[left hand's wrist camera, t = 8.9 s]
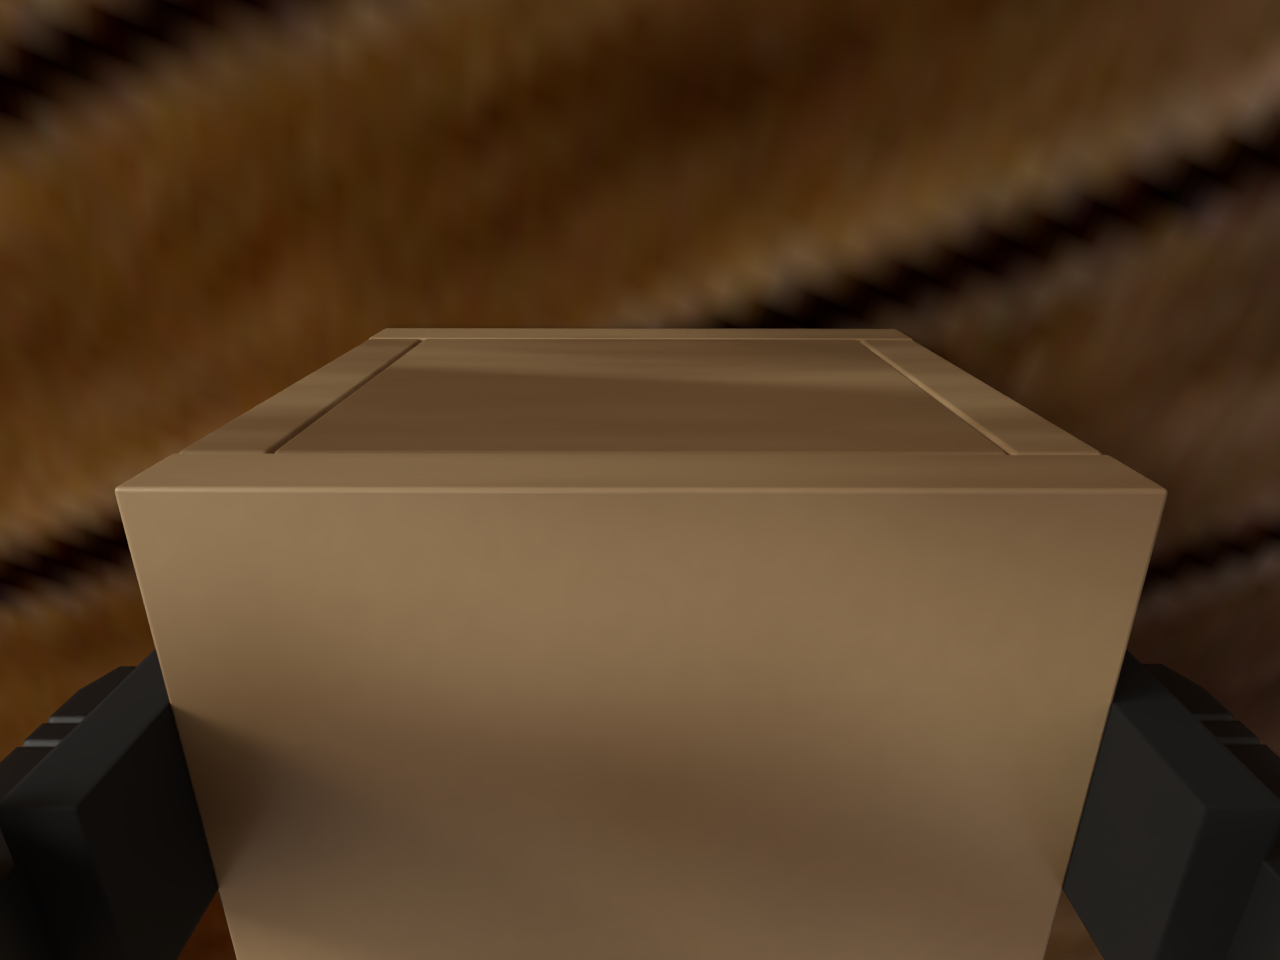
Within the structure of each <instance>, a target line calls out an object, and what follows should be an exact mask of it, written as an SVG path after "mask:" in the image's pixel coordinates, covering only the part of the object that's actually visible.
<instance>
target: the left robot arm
mask: <svg viewBox="0 0 1280 960" xmlns="http://www.w3.org/2000/svg"><path fill="white" fill-rule="evenodd" d="M1258 740H1259V738H1257V737H1256V736H1255V735H1254V734H1253V733H1252V732H1251V731H1250V730H1249V729H1248V728H1246V727H1245V726H1244V725H1243V724H1242V723H1241V722H1240V721H1234V719H1233V715H1232V714H1231V713H1230V712H1229V711H1228V710H1227V709H1226V708H1225V707H1223V706H1222V705H1221V704H1220V703H1219V702H1218V701H1217V700H1216V699H1215V698H1214V697H1213V696H1211V695H1210V694H1209V693H1208V692H1207V691H1206V690H1205V689H1204V688H1203V687H1201V686H1199V685H1197V684H1196V683H1194V682H1192V681H1190V680H1189V679H1187V678H1185V677H1183V676H1182V675H1180V674H1178V673H1176V672H1175V671H1173V670H1171V669H1169V668H1168V667H1166V666H1164V665H1162V664H1141V663H1140V662H1139V661H1138V660H1137V659H1136V658H1135V657H1134V656H1133V655H1132V654H1131V653H1130V652H1129V651H1128V650H1126V652H1125V656H1124V660H1123V663H1122V667H1121V671H1120V675H1119V678H1118V682H1117V686H1116V690H1115V693H1114V697H1113V701H1112V705H1111V708H1110V712H1109V716H1108V720H1107V723H1106V727H1105V731H1104V735H1103V738H1102V742H1101V746H1100V750H1099V753H1098V757H1097V761H1096V765H1095V768H1094V772H1093V776H1092V780H1091V783H1090V787H1089V791H1088V795H1087V799H1086V802H1085V806H1084V810H1083V814H1082V817H1081V821H1080V825H1079V829H1078V832H1077V836H1076V840H1075V844H1074V847H1073V851H1072V855H1071V859H1070V862H1069V866H1068V870H1067V874H1066V877H1065V881H1064V885H1063V890H1064V892H1065V894H1066V895H1067V897H1068V899H1069V900H1070V902H1071V904H1072V906H1073V907H1074V909H1075V911H1076V912H1077V914H1078V916H1079V917H1080V919H1081V921H1082V923H1083V924H1084V926H1085V928H1086V929H1087V931H1088V933H1089V934H1090V936H1091V938H1092V939H1093V941H1094V943H1095V945H1096V946H1097V948H1098V950H1099V951H1100V953H1101V955H1102V956H1103V958H1104V960H1280V758H1279V757H1278V756H1277V755H1276V754H1275V753H1274V752H1273V751H1272V750H1271V749H1269V748H1268V747H1267V746H1266V745H1260V744H1259V741H1258ZM217 890H218V885H217V881H216V877H215V873H214V869H213V865H212V862H211V858H210V854H209V850H208V846H207V842H206V839H205V835H204V831H203V827H202V823H201V820H200V816H199V812H198V808H197V804H196V800H195V797H194V793H193V789H192V785H191V781H190V777H189V774H188V770H187V766H186V762H185V758H184V755H183V751H182V747H181V743H180V739H179V735H178V732H177V728H176V724H175V720H174V716H173V712H172V709H171V705H170V701H169V697H168V693H167V690H166V686H165V682H164V678H163V674H162V670H161V667H160V663H159V659H158V655H157V651H156V648H155V649H154V650H153V651H152V652H151V653H150V654H149V655H148V656H147V657H146V658H145V659H144V660H143V661H142V662H141V663H140V664H139V665H138V666H137V667H118V668H117V669H115V670H113V671H111V672H110V673H108V674H106V675H105V676H103V677H101V678H99V679H98V680H96V681H94V682H92V683H91V684H89V685H87V686H85V687H84V688H82V689H80V690H79V691H78V692H77V693H75V694H74V695H73V696H72V697H71V698H70V699H69V700H68V701H67V702H66V703H65V704H64V705H62V706H61V707H60V708H59V709H58V710H57V711H56V712H55V713H54V714H53V715H52V716H50V717H49V722H48V723H43V724H42V725H41V726H40V727H39V728H37V729H36V730H35V731H34V732H33V733H32V734H31V735H30V736H29V737H28V738H27V739H25V740H24V744H23V747H17V748H16V749H15V750H14V751H12V752H11V753H10V754H9V755H8V756H7V757H6V758H5V759H4V760H3V761H2V762H0V960H177V958H178V956H179V955H180V953H181V951H182V949H183V948H184V946H185V944H186V943H187V941H188V939H189V938H190V936H191V934H192V932H193V931H194V929H195V927H196V926H197V924H198V922H199V921H200V919H201V917H202V916H203V914H204V912H205V910H206V909H207V907H208V905H209V904H210V902H211V900H212V899H213V897H214V895H215V893H216V892H217Z"/></svg>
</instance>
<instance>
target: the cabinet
mask: <svg viewBox="0 0 1280 960" xmlns="http://www.w3.org/2000/svg"><path fill="white" fill-rule="evenodd" d="M115 495H116V498H117V502H118V506H119V510H120V514H121V517H122V521H123V525H124V529H125V533H126V537H127V540H128V544H129V548H130V552H131V556H132V560H133V563H134V567H135V571H136V575H137V579H138V582H139V586H140V590H141V594H142V598H143V602H144V605H145V609H146V613H147V617H148V621H149V625H150V628H151V632H152V636H153V640H154V644H155V647H156V651H157V655H158V659H159V663H160V667H161V670H162V674H163V678H164V682H165V686H166V690H167V693H168V697H169V701H170V705H171V709H172V712H173V716H174V720H175V724H176V728H177V732H178V735H179V739H180V743H181V747H182V751H183V755H184V758H185V762H186V766H187V770H188V774H189V777H190V781H191V785H192V789H193V793H194V797H195V800H196V804H197V808H198V812H199V816H200V820H201V823H202V827H203V831H204V835H205V839H206V842H207V846H208V850H209V854H210V858H211V862H212V865H213V869H214V873H215V877H216V881H217V885H218V888H219V892H220V896H221V900H222V904H223V907H224V911H225V915H226V919H227V923H228V927H229V930H230V934H231V938H232V942H233V946H234V949H235V953H236V957H237V960H1044V956H1045V952H1046V949H1047V945H1048V941H1049V937H1050V934H1051V930H1052V926H1053V922H1054V919H1055V915H1056V911H1057V907H1058V904H1059V900H1060V896H1061V892H1062V889H1063V885H1064V881H1065V877H1066V874H1067V870H1068V866H1069V862H1070V859H1071V855H1072V851H1073V847H1074V844H1075V840H1076V836H1077V832H1078V829H1079V825H1080V821H1081V817H1082V814H1083V810H1084V806H1085V802H1086V799H1087V795H1088V791H1089V787H1090V783H1091V780H1092V776H1093V772H1094V768H1095V765H1096V761H1097V757H1098V753H1099V750H1100V746H1101V742H1102V738H1103V735H1104V731H1105V727H1106V723H1107V720H1108V716H1109V712H1110V708H1111V705H1112V701H1113V697H1114V693H1115V690H1116V686H1117V682H1118V678H1119V675H1120V671H1121V667H1122V663H1123V660H1124V656H1125V652H1126V648H1127V645H1128V641H1129V637H1130V633H1131V630H1132V626H1133V622H1134V618H1135V615H1136V611H1137V607H1138V603H1139V600H1140V596H1141V592H1142V588H1143V585H1144V581H1145V577H1146V573H1147V570H1148V566H1149V562H1150V558H1151V555H1152V551H1153V547H1154V543H1155V539H1156V536H1157V532H1158V528H1159V524H1160V521H1161V517H1162V513H1163V509H1164V506H1165V502H1166V498H1167V490H1166V489H1165V488H1164V487H1162V486H1160V485H1158V484H1157V483H1155V482H1153V481H1152V480H1150V479H1148V478H1147V477H1145V476H1143V475H1142V474H1140V473H1138V472H1136V471H1135V470H1133V469H1131V468H1130V467H1128V466H1126V465H1125V464H1123V463H1121V462H1120V461H1118V460H1116V459H1114V458H1113V457H1111V456H1109V455H1103V453H1101V452H1100V451H1098V450H1096V449H1095V448H1093V447H1091V446H1090V445H1088V444H1086V443H1085V442H1083V441H1081V440H1080V439H1078V438H1076V437H1075V436H1073V435H1071V434H1070V433H1068V432H1066V431H1064V430H1063V429H1061V428H1059V427H1058V426H1056V425H1054V424H1053V423H1051V422H1049V421H1048V420H1046V419H1044V418H1043V417H1041V416H1039V415H1038V414H1036V413H1034V412H1033V411H1031V410H1029V409H1027V408H1026V407H1024V406H1022V405H1021V404H1019V403H1017V402H1016V401H1014V400H1012V399H1011V398H1009V397H1007V396H1006V395H1004V394H1002V393H1001V392H999V391H997V390H996V389H994V388H992V387H990V386H989V385H987V384H985V383H984V382H982V381H980V380H979V379H977V378H975V377H974V376H972V375H970V374H969V373H967V372H965V371H964V370H962V369H960V368H959V367H957V366H955V365H954V364H952V363H950V362H948V361H947V360H945V359H943V358H942V357H940V356H938V355H937V354H935V353H933V352H932V351H930V350H928V349H927V348H925V347H923V346H922V345H920V344H918V343H917V342H915V341H913V339H912V338H910V337H908V336H906V335H905V334H903V333H901V332H900V331H898V330H896V329H570V328H386V329H384V330H382V331H381V332H379V333H377V334H376V335H374V336H372V337H371V338H369V340H367V341H366V342H364V343H362V344H361V345H359V346H357V347H355V348H354V349H352V350H350V351H349V352H347V353H345V354H344V355H342V356H340V357H339V358H337V359H335V360H334V361H332V362H330V363H328V364H327V365H325V366H323V367H322V368H320V369H318V370H317V371H315V372H313V373H312V374H310V375H308V376H306V377H305V378H303V379H301V380H300V381H298V382H296V383H295V384H293V385H291V386H290V387H288V388H286V389H285V390H283V391H281V392H279V393H278V394H276V395H274V396H273V397H271V398H269V399H268V400H266V401H264V402H263V403H261V404H259V405H258V406H256V407H254V408H252V409H251V410H249V411H247V412H246V413H244V414H242V415H241V416H239V417H237V418H236V419H234V420H232V421H230V422H229V423H227V424H225V425H224V426H222V427H220V428H219V429H217V430H215V431H214V432H212V433H210V434H209V435H207V436H205V437H203V438H202V439H200V440H198V441H197V442H195V443H193V444H192V445H190V446H188V447H187V448H185V449H183V450H182V451H180V452H179V454H172V455H170V456H168V457H167V458H165V459H163V460H162V461H160V462H158V463H157V464H155V465H153V466H151V467H150V468H148V469H146V470H145V471H143V472H141V473H140V474H138V475H136V476H134V477H133V478H131V479H129V480H128V481H126V482H124V483H123V484H121V485H119V486H117V487H116V489H115Z"/></svg>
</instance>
